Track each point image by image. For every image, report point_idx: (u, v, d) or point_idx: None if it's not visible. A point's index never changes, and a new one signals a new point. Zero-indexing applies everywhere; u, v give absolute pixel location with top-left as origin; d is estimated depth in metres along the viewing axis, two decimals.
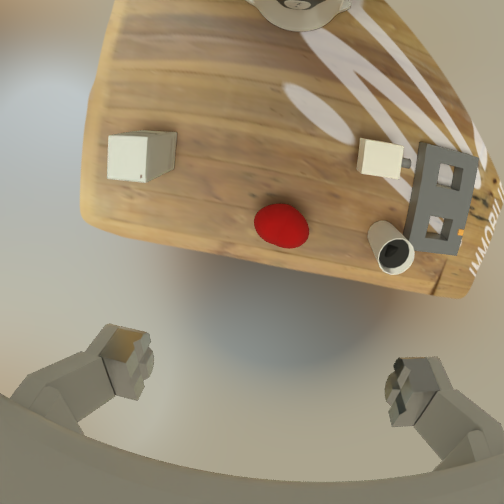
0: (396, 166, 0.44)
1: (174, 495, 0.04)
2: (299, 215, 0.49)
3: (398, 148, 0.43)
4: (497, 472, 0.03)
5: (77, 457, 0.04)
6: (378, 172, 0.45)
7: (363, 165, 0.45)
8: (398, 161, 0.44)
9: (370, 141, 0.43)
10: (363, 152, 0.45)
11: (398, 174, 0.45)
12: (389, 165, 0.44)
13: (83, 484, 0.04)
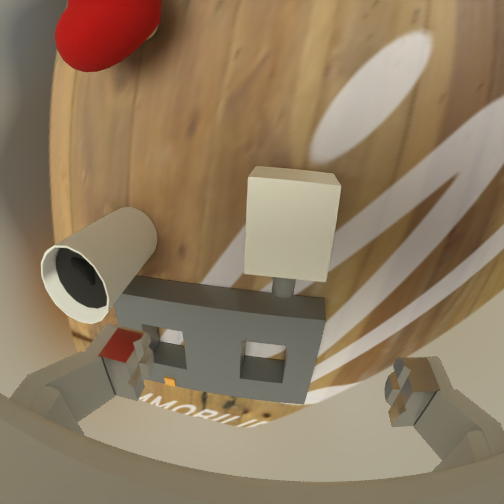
0: (275, 266, 0.20)
1: (174, 495, 0.04)
2: (128, 36, 0.14)
3: (321, 270, 0.20)
4: (497, 472, 0.03)
5: (76, 457, 0.04)
6: (254, 220, 0.19)
7: (271, 181, 0.18)
8: (288, 270, 0.20)
9: (336, 198, 0.18)
10: (304, 180, 0.18)
11: (256, 271, 0.21)
12: (275, 250, 0.20)
13: (83, 484, 0.04)
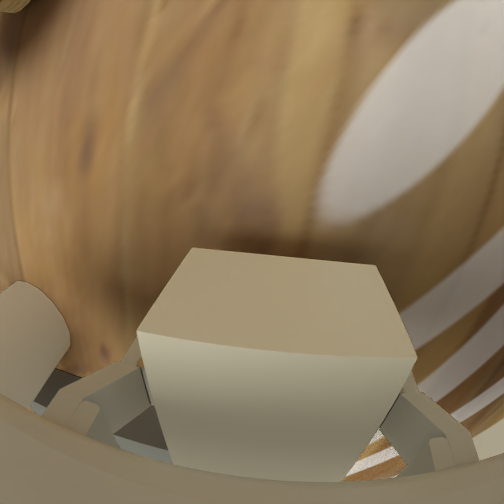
0: (235, 472, 0.08)
1: (174, 495, 0.04)
2: None
3: (330, 478, 0.08)
4: (497, 472, 0.03)
5: (76, 457, 0.04)
6: (176, 416, 0.07)
7: (204, 349, 0.06)
8: (263, 478, 0.08)
9: (395, 384, 0.06)
10: (310, 336, 0.06)
11: None
12: (233, 458, 0.07)
13: (83, 484, 0.04)
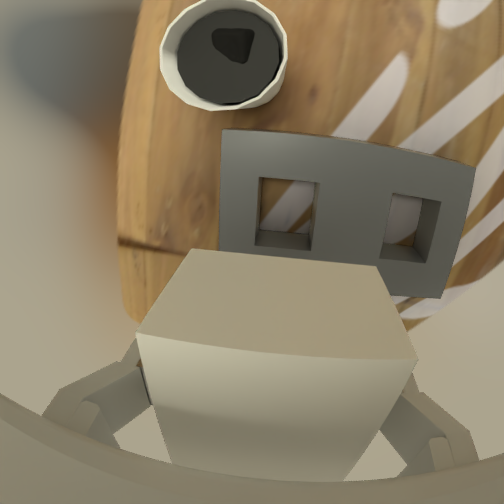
0: (235, 474, 0.08)
1: (174, 495, 0.04)
2: None
3: (330, 479, 0.08)
4: (497, 472, 0.03)
5: (77, 457, 0.04)
6: (176, 418, 0.07)
7: (203, 351, 0.06)
8: None
9: (395, 386, 0.05)
10: (310, 338, 0.06)
11: None
12: (233, 459, 0.07)
13: (83, 484, 0.04)
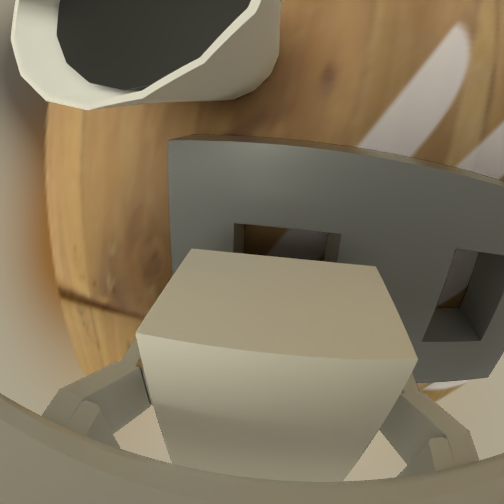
0: (235, 474, 0.08)
1: (174, 495, 0.04)
2: None
3: (330, 479, 0.08)
4: (497, 472, 0.03)
5: (76, 457, 0.04)
6: (176, 417, 0.07)
7: (203, 351, 0.06)
8: None
9: (395, 387, 0.05)
10: (310, 338, 0.06)
11: None
12: (233, 459, 0.07)
13: (83, 484, 0.04)
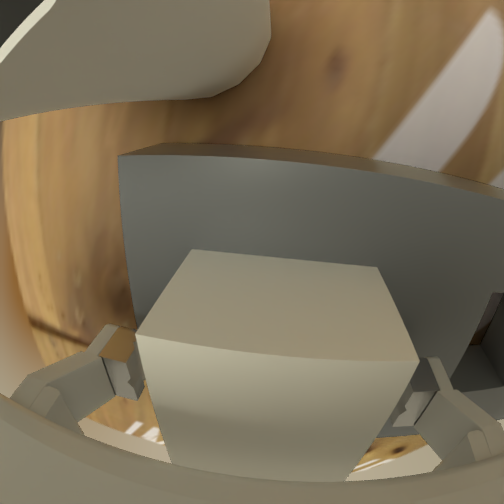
0: (235, 475, 0.08)
1: (174, 495, 0.04)
2: None
3: (331, 481, 0.07)
4: (497, 472, 0.03)
5: (77, 457, 0.04)
6: (176, 419, 0.07)
7: (204, 352, 0.05)
8: None
9: (397, 388, 0.05)
10: (311, 339, 0.06)
11: None
12: (233, 460, 0.07)
13: (83, 484, 0.04)
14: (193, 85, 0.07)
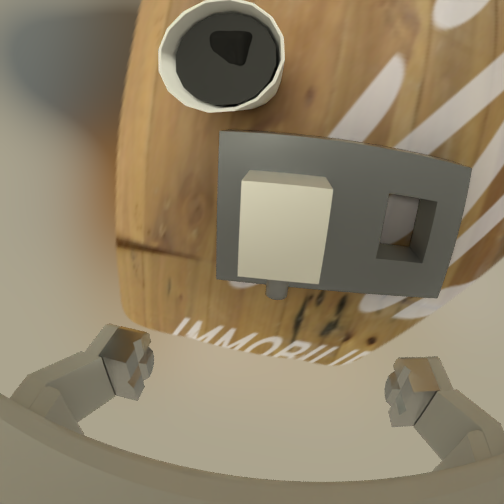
0: (268, 268, 0.21)
1: (174, 495, 0.04)
2: None
3: (314, 272, 0.20)
4: (497, 472, 0.03)
5: (77, 457, 0.04)
6: (248, 223, 0.19)
7: (264, 185, 0.18)
8: (281, 272, 0.21)
9: (328, 201, 0.18)
10: (297, 183, 0.19)
11: (249, 274, 0.21)
12: (269, 252, 0.20)
13: (83, 484, 0.04)
14: (254, 106, 0.20)
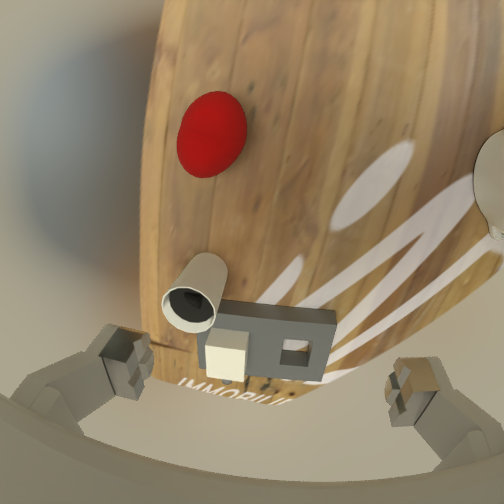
0: (220, 375, 0.43)
1: (174, 495, 0.04)
2: (231, 161, 0.30)
3: (240, 377, 0.43)
4: (497, 472, 0.03)
5: (76, 457, 0.04)
6: (209, 359, 0.42)
7: (214, 347, 0.41)
8: (226, 377, 0.43)
9: (243, 354, 0.40)
10: (230, 346, 0.41)
11: (212, 376, 0.43)
12: (219, 369, 0.42)
13: (83, 484, 0.04)
14: None
